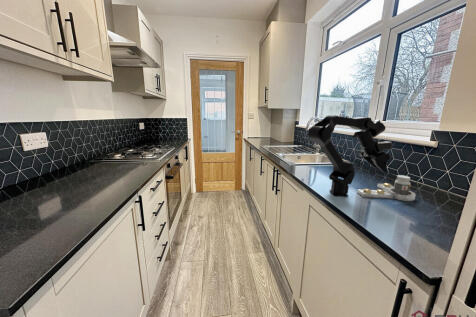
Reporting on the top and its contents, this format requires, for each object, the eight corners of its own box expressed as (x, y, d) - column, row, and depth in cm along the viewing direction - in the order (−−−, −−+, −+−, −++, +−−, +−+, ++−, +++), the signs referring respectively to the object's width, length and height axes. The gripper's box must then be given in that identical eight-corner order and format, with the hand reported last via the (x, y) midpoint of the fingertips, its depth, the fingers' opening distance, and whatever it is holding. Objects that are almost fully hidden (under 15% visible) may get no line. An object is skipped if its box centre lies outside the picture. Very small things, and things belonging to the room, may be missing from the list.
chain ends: (365, 198, 88) (366, 193, 88) (347, 185, 106) (348, 180, 105) (420, 201, 86) (421, 196, 85) (392, 187, 103) (393, 182, 103)
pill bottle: (410, 199, 88) (415, 179, 86) (396, 198, 89) (400, 178, 87) (403, 194, 93) (407, 175, 91) (389, 193, 95) (393, 174, 92)
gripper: (396, 135, 81) (411, 167, 82) (375, 132, 99) (387, 158, 100) (369, 147, 84) (384, 178, 85) (353, 142, 102) (365, 167, 103)
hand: (380, 170), depth 94 cm, fingers open, 9 cm apart
